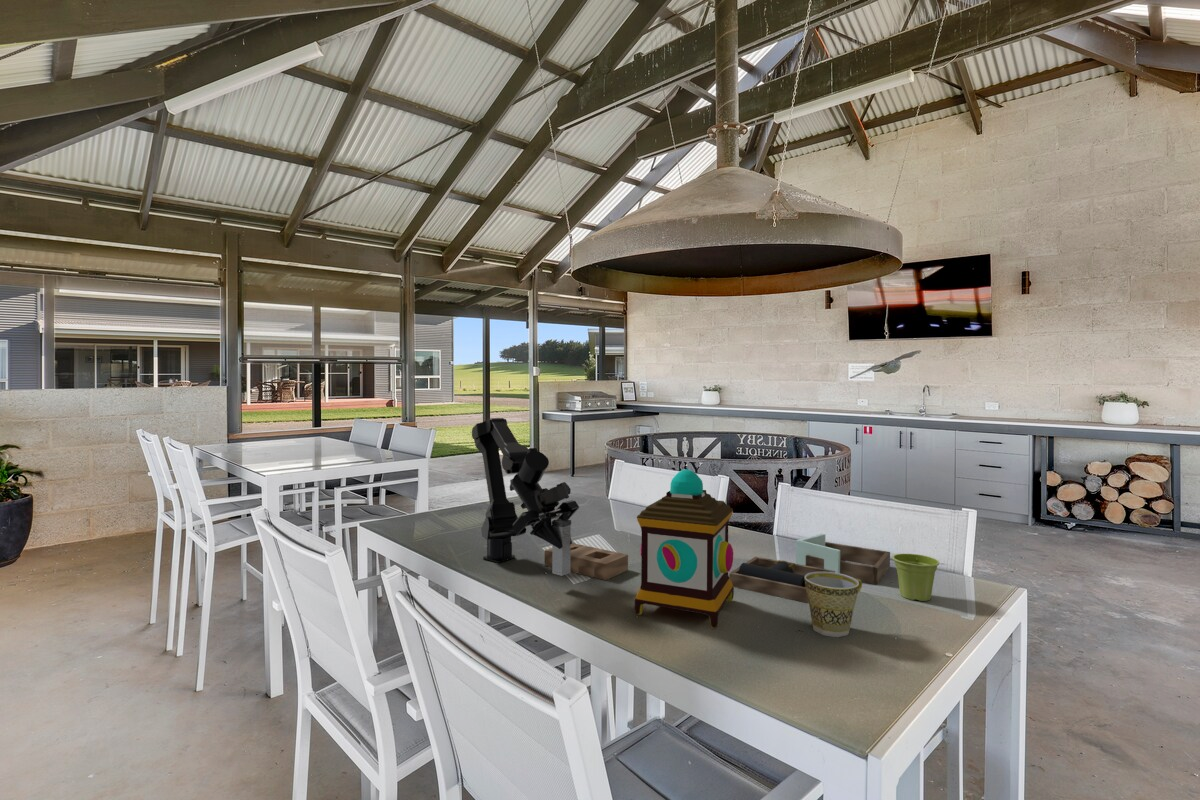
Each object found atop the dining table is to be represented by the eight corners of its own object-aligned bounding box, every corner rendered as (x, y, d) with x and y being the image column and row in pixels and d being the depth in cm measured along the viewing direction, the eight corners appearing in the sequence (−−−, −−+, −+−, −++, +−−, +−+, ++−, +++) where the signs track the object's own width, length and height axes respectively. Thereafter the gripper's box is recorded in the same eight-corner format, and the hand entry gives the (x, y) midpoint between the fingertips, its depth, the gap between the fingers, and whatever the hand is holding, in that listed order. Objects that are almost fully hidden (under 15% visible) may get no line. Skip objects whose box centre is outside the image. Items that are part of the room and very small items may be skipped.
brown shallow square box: (805, 571, 149) (805, 555, 149) (823, 555, 163) (823, 541, 162) (877, 584, 139) (877, 568, 139) (889, 566, 153) (890, 552, 152)
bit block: (544, 565, 153) (544, 550, 153) (568, 556, 161) (568, 542, 161) (605, 580, 141) (605, 564, 141) (628, 569, 149) (628, 554, 149)
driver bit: (551, 573, 135) (551, 520, 135) (560, 570, 138) (560, 518, 137) (562, 576, 133) (562, 522, 133) (571, 572, 136) (571, 520, 135)
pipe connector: (758, 553, 147) (817, 565, 138) (758, 574, 147) (817, 587, 138) (738, 565, 138) (799, 578, 129) (738, 586, 139) (799, 601, 129)
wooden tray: (729, 585, 138) (729, 573, 138) (755, 567, 152) (755, 556, 151) (815, 604, 126) (815, 590, 126) (835, 583, 140) (835, 570, 140)
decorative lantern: (741, 599, 129) (742, 466, 128) (722, 634, 111) (723, 479, 110) (656, 586, 137) (656, 461, 136) (625, 616, 119) (626, 472, 118)
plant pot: (882, 592, 133) (883, 555, 133) (911, 587, 137) (911, 551, 137) (919, 607, 125) (919, 567, 125) (948, 600, 129) (949, 562, 128)
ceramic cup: (830, 645, 106) (831, 591, 106) (792, 624, 115) (793, 575, 115) (881, 633, 111) (882, 582, 111) (841, 614, 121) (841, 567, 120)
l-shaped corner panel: (837, 580, 143) (838, 550, 143) (795, 568, 153) (796, 540, 152) (863, 571, 150) (863, 542, 150) (821, 560, 160) (821, 533, 160)
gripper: (521, 477, 129) (559, 533, 123) (573, 468, 145) (609, 517, 138) (497, 507, 134) (531, 563, 128) (549, 495, 149) (583, 544, 143)
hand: (566, 546), depth 134 cm, fingers closed on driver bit, 3 cm apart
